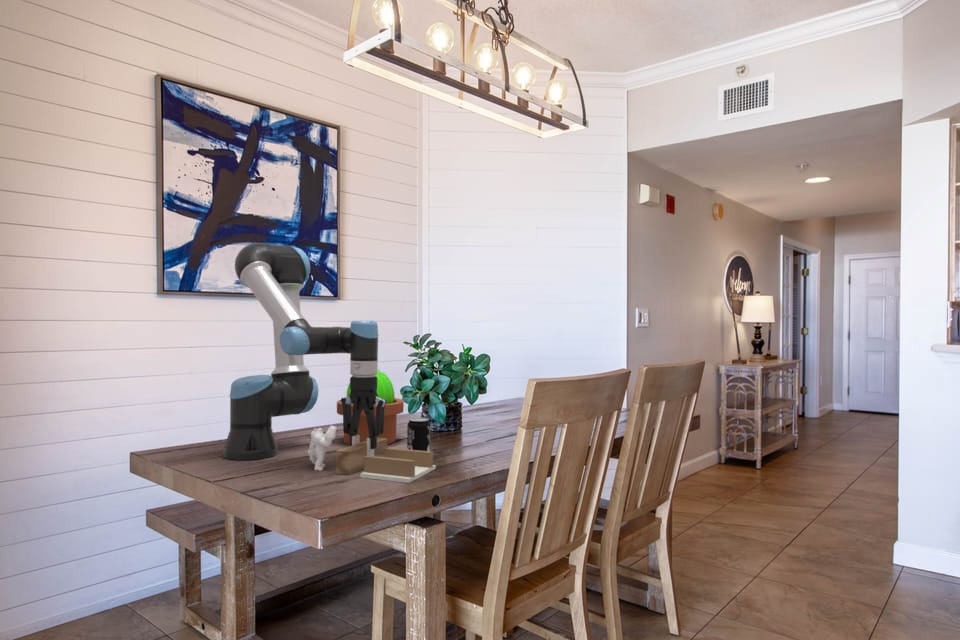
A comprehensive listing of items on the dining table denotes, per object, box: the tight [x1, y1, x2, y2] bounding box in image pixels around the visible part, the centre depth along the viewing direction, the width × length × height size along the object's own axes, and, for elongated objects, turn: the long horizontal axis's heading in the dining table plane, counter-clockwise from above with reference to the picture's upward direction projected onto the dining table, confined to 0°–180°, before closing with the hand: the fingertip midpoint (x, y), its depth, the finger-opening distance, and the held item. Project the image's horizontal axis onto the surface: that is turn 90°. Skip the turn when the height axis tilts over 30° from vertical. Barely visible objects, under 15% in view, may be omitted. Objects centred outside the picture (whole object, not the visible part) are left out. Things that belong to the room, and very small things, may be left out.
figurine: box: [307, 425, 338, 472], centre depth 166 cm, size 10×5×12 cm, turn 52°
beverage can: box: [406, 417, 431, 452], centre depth 177 cm, size 7×7×12 cm
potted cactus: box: [336, 368, 405, 446], centre depth 204 cm, size 22×22×25 cm
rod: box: [335, 438, 388, 476], centre depth 169 cm, size 4×20×6 cm, turn 159°
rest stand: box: [359, 447, 437, 484], centre depth 162 cm, size 14×16×5 cm
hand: (362, 459), depth 169 cm, fingers closed on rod, 4 cm apart
